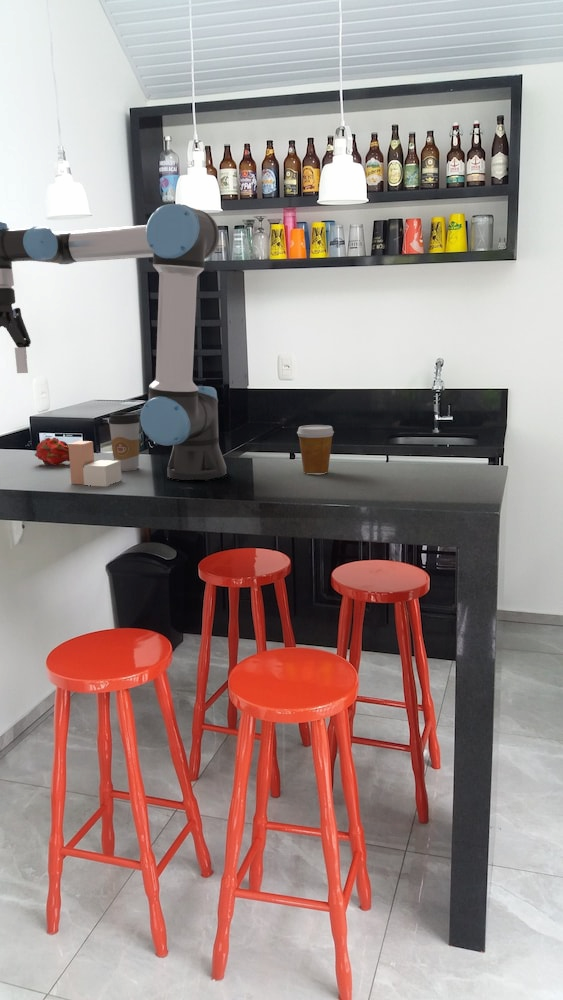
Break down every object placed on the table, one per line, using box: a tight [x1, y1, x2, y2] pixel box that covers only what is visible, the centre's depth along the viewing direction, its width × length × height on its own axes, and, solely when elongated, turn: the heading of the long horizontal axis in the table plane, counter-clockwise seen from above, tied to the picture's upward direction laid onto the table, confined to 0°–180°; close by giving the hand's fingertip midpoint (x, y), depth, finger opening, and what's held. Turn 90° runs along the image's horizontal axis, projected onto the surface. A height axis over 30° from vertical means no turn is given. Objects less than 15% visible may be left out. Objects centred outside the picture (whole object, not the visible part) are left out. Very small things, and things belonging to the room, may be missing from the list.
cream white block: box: [83, 459, 122, 487], centre depth 207 cm, size 6×8×5 cm
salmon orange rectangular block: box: [67, 440, 95, 485], centre depth 208 cm, size 4×5×10 cm
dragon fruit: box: [34, 437, 70, 467], centre depth 233 cm, size 8×8×12 cm
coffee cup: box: [108, 411, 141, 472], centre depth 224 cm, size 8×8×15 cm
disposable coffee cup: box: [296, 424, 335, 473], centre depth 214 cm, size 10×10×12 cm
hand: (7, 375), depth 208 cm, fingers open, 13 cm apart
